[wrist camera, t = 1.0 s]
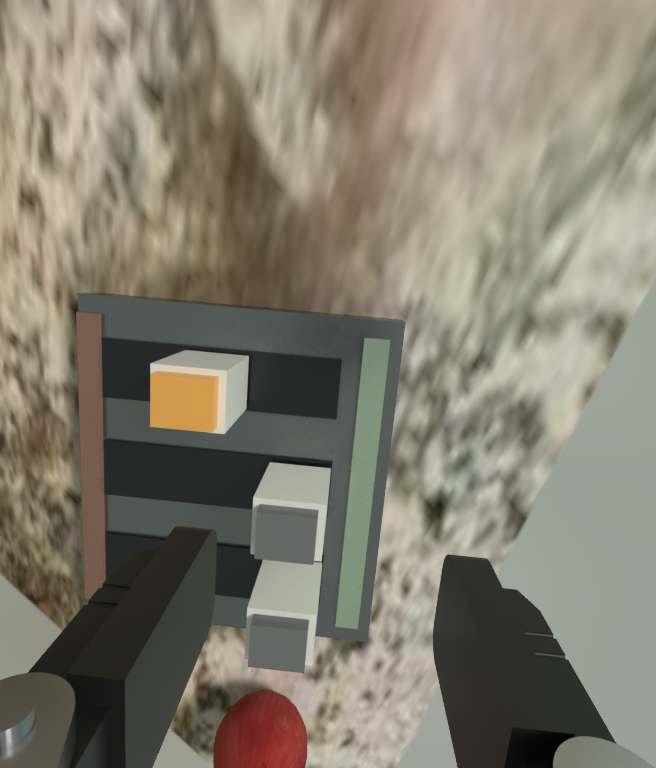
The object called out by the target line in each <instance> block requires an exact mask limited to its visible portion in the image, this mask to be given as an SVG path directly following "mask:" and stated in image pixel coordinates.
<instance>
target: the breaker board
mask: <svg viewBox="0 0 656 768" xmlns="http://www.w3.org/2000/svg"><path fill="white" fill-rule="evenodd" d="M76 325H77V358H78V392H79V426H80V460H81V493H82V527H83V561H84V594H85V599H86V600H87V604H88V600H89V599H90V598H91V597H92V596H93V595H94V593H95V592H96V591H97V590H98V589H99V588H102V585H103V583H104V581H105V580H106V579H107V578H108V577H109V576H110V574H111V573H112V572H113V571H114V570H115V568H116V567H117V566H118V565H119V564H120V563H122V562H123V561H125V560H127V559H128V558H130V557H132V556H133V555H135V554H136V553H138V552H140V551H141V550H143V549H146V550H155V551H157V550H158V549H159V547H160V546H161V545H162V543H163V542H164V541H165V539H166V538H167V537H168V535H169V534H170V532H171V531H172V530H173V529H174V527H176V526H186V527H196V528H205V529H214V530H215V531H216V534H217V554H216V581H215V603H214V611H213V616H212V621H211V624H212V625H221V626H230V627H239V628H246V621H247V607H248V604H249V601H250V598H251V595H252V592H253V589H254V586H255V583H256V579H257V576H258V573H259V570H260V567H261V564H262V561H263V560H262V559H254V554H250V548H251V530H252V512H253V497H254V495H255V493H256V491H257V488H258V486H259V484H260V482H261V480H262V478H263V476H264V474H265V471H266V469H267V467H268V465H269V463H270V462H273V463H283V464H293V465H303V466H313V467H323V468H331V474H330V485H329V496H328V507H327V517H326V526H325V535H324V544H323V553H322V561H321V562H320V561H314V562H320V563H322V572H321V583H320V594H319V605H318V615H317V624H316V633H315V636H319V637H328V638H337V639H346V640H355V641H363V642H367V640H368V631H369V623H370V614H371V606H372V598H373V589H374V581H375V573H376V564H377V556H378V547H379V539H380V531H381V522H382V514H383V505H384V497H385V489H386V480H387V472H388V463H389V455H390V447H391V438H392V430H393V421H394V413H395V405H396V396H397V388H398V380H399V371H400V363H401V354H402V346H403V338H404V329H405V322H404V321H402V320H397V319H385V318H374V317H363V316H352V315H340V314H329V313H318V312H307V311H295V310H284V309H273V308H262V307H250V306H239V305H228V304H216V303H205V302H194V301H183V300H171V299H160V298H149V297H138V296H126V295H115V294H104V293H78V312H76ZM184 350H191V351H202V352H213V353H223V354H234V355H245V356H249V365H248V385H247V405H246V410H245V411H244V412H243V413H242V415H241V416H240V417H239V418H238V419H237V420H236V421H235V423H234V424H233V425H232V426H231V427H230V428H229V430H228V431H227V432H226V433H225V434H217V433H207V432H197V431H187V430H177V429H166V428H156V427H150V363H153V362H155V361H158V360H161V359H163V358H166V357H168V356H171V355H174V354H176V353H179V352H182V351H184Z"/></svg>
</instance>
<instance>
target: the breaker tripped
mask: <svg viewBox="0 0 656 768" xmlns="http://www.w3.org/2000/svg"><path fill="white" fill-rule="evenodd" d="M248 365H249V356H245V355H234V354H223V353H213V352H202V351H191V350H184V351H182V352H179V353H176V354H174V355H171V356H168V357H166V358H163V359H161V360H158V361H155V362H153V363H150V427H156V428H166V429H177V430H187V431H197V432H207V433H217V434H225V433H226V432H227V431H228V430H229V428H230V427H231V426H232V425H233V424H234V423H235V421H236V420H237V419H238V418H239V417H240V416H241V415H242V413H243V412H244V411H245V410H246V405H247V385H248Z"/></svg>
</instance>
